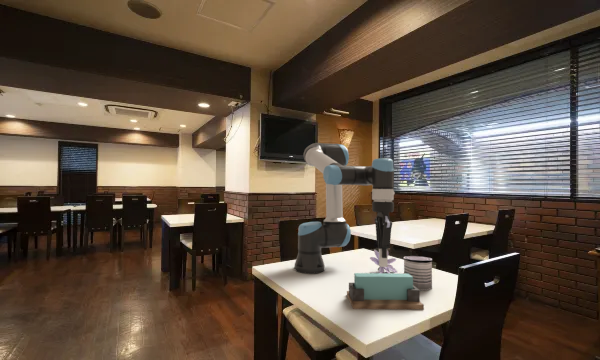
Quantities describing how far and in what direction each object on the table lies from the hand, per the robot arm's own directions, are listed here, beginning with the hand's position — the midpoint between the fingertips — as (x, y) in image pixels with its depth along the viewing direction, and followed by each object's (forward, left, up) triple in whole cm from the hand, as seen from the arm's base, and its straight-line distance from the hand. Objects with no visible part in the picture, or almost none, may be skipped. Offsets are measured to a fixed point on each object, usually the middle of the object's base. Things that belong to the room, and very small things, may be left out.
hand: (383, 266), depth 99 cm
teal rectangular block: (0, 0, -11) cm, 11 cm away
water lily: (+11, +35, -13) cm, 39 cm away
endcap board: (0, 0, -13) cm, 13 cm away
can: (+20, +17, -13) cm, 29 cm away
